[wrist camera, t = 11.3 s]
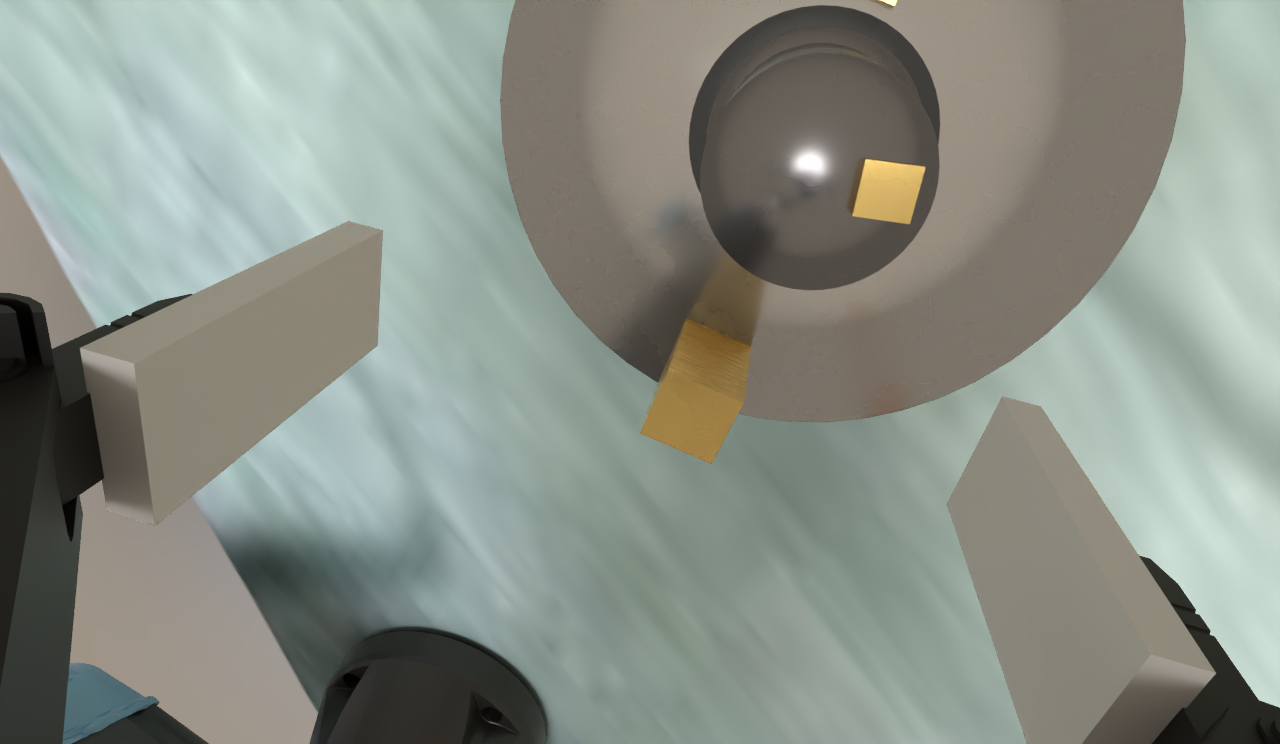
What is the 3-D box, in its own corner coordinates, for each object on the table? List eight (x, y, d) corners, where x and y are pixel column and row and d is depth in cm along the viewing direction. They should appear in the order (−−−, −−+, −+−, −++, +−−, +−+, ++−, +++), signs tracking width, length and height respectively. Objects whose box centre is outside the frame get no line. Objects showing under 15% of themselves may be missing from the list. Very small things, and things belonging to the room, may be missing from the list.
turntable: (628, -393, 22) (572, -528, 17) (1343, -87, 23) (1529, -117, 17) (455, 280, 34) (387, 337, 28) (928, 482, 34) (954, 579, 28)
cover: (695, 225, 29) (668, 287, 23) (724, 14, 26) (700, 18, 19) (890, 254, 28) (917, 326, 22) (947, 39, 25) (999, 51, 18)
